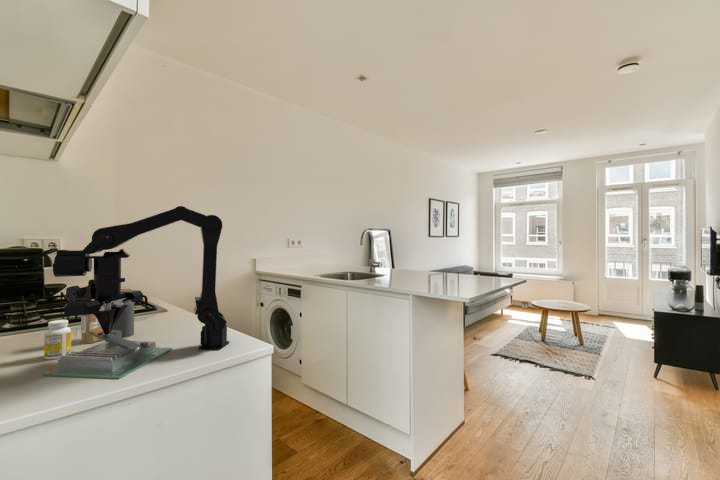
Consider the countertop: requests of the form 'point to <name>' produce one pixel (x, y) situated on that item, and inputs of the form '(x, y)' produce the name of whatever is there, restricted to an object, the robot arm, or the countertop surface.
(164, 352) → the heatsink
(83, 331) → the sprinkles bottle
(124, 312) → the bottle
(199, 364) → the countertop surface
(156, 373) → the countertop surface
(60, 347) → the supplement bottle
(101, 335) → the grey and orange bar
